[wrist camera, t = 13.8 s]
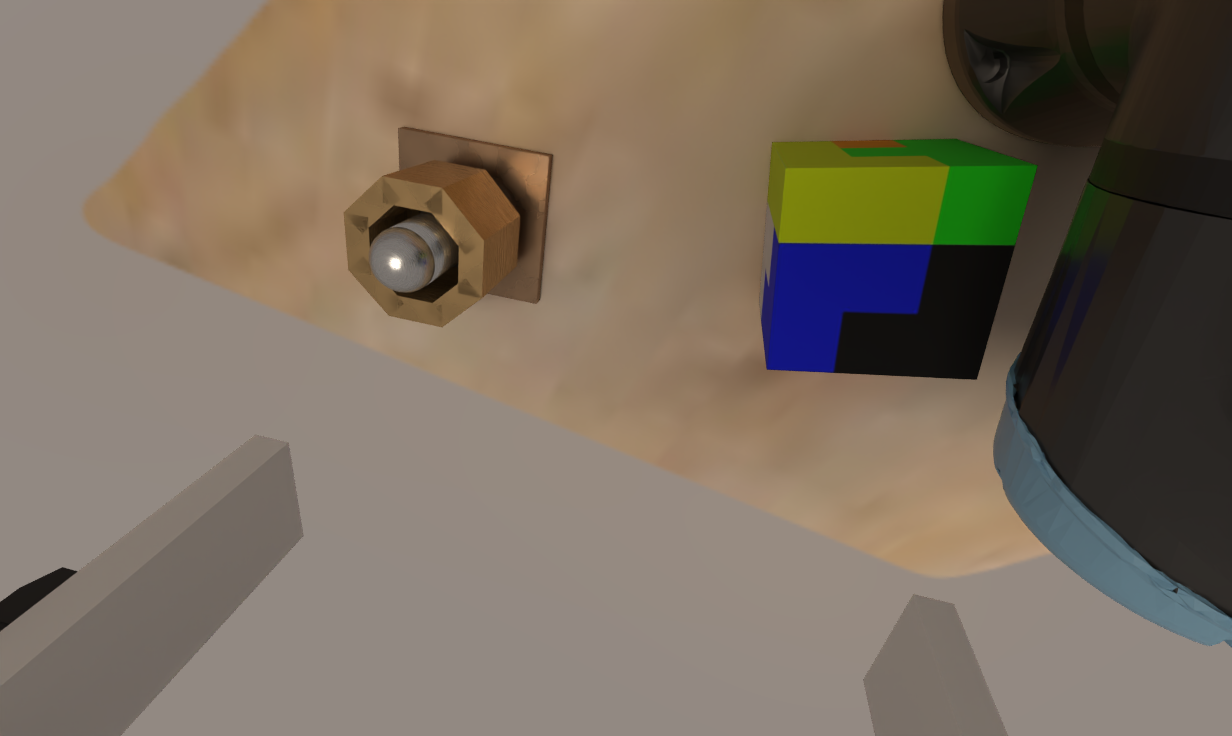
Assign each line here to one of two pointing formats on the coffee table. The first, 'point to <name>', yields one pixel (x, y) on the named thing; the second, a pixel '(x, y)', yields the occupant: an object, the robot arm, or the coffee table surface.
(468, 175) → the ring
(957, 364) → the puzzle toy
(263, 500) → the robot arm
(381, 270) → the peg on square base
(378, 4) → the coffee table surface
